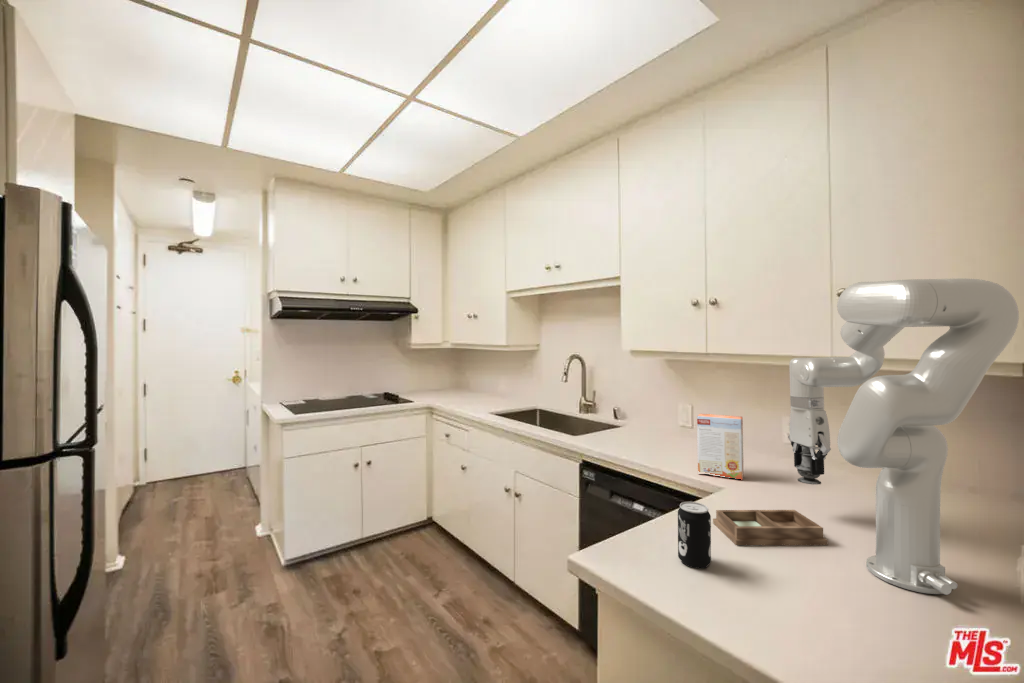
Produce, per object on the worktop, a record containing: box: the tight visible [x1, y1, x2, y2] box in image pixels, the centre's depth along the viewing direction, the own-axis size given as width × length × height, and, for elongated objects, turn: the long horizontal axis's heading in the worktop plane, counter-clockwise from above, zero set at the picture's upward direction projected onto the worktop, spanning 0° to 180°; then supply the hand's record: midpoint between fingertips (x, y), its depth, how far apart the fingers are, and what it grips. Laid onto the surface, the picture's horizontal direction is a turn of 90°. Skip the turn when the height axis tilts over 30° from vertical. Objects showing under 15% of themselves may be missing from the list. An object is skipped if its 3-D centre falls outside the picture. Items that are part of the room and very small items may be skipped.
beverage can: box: [677, 501, 712, 569], centre depth 93 cm, size 7×7×12 cm
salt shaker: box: [795, 445, 822, 485], centre depth 115 cm, size 6×6×12 cm
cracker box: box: [696, 413, 744, 481], centre depth 149 cm, size 14×6×21 cm, turn 58°
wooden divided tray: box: [712, 509, 829, 546], centre depth 105 cm, size 21×12×4 cm, turn 89°
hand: (808, 470), depth 115 cm, fingers closed on salt shaker, 5 cm apart
